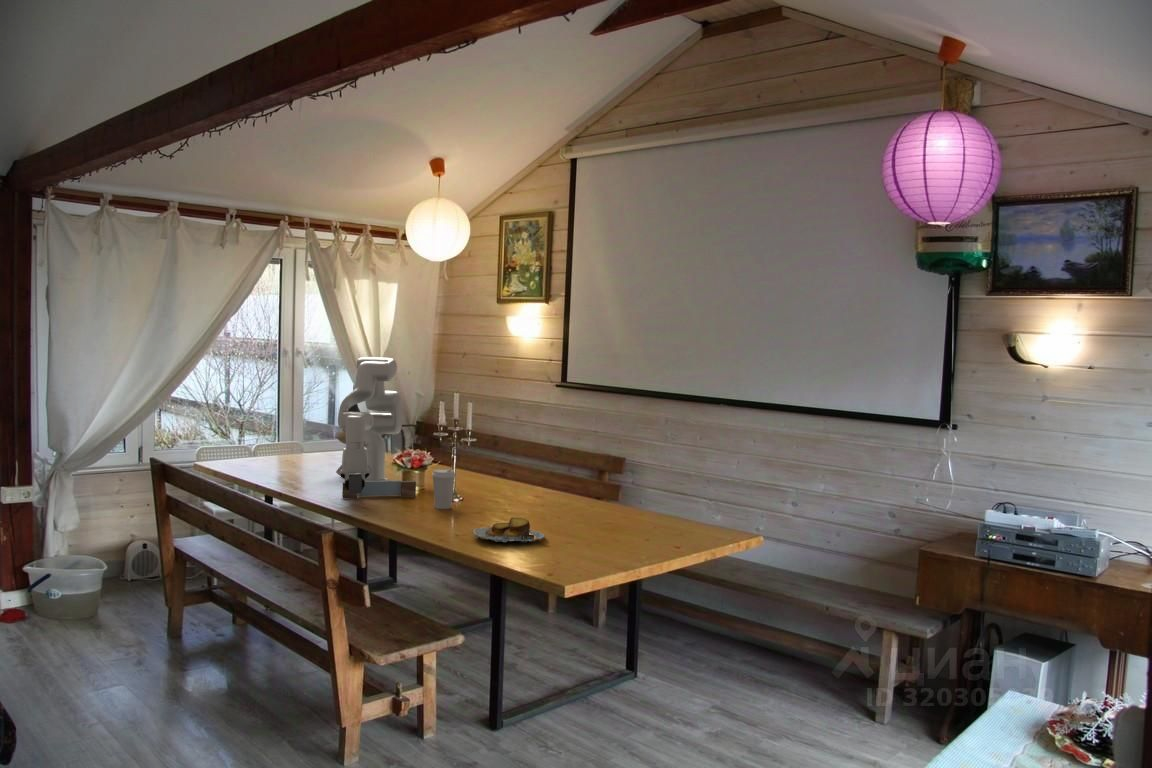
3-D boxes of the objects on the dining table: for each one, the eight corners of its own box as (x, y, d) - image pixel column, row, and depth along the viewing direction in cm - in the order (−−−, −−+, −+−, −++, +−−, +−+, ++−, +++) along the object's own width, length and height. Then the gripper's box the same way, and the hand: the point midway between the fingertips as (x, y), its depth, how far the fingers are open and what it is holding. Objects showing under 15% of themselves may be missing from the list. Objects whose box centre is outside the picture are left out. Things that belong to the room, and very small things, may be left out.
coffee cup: (443, 511, 342) (444, 473, 341) (425, 507, 348) (426, 470, 346) (459, 507, 350) (460, 470, 349) (442, 503, 355) (443, 467, 354)
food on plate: (459, 536, 305) (459, 518, 304) (517, 528, 320) (518, 510, 320) (498, 552, 285) (499, 533, 284) (558, 543, 300) (559, 524, 300)
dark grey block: (347, 489, 355) (347, 472, 354) (360, 489, 357) (360, 472, 356) (348, 493, 348) (349, 476, 348) (361, 493, 350) (361, 476, 349)
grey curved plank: (357, 495, 364) (357, 481, 364) (400, 494, 370) (401, 480, 369) (357, 496, 362) (358, 481, 362) (401, 495, 368) (401, 481, 367)
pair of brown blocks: (342, 497, 360) (342, 482, 359) (414, 496, 369) (415, 481, 369) (342, 498, 358) (342, 483, 357) (415, 497, 367) (416, 481, 367)
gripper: (375, 443, 357) (375, 486, 359) (333, 444, 351) (332, 487, 353) (377, 446, 349) (376, 490, 351) (333, 447, 344) (333, 492, 346)
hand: (354, 488), depth 352 cm, fingers closed on dark grey block, 5 cm apart
